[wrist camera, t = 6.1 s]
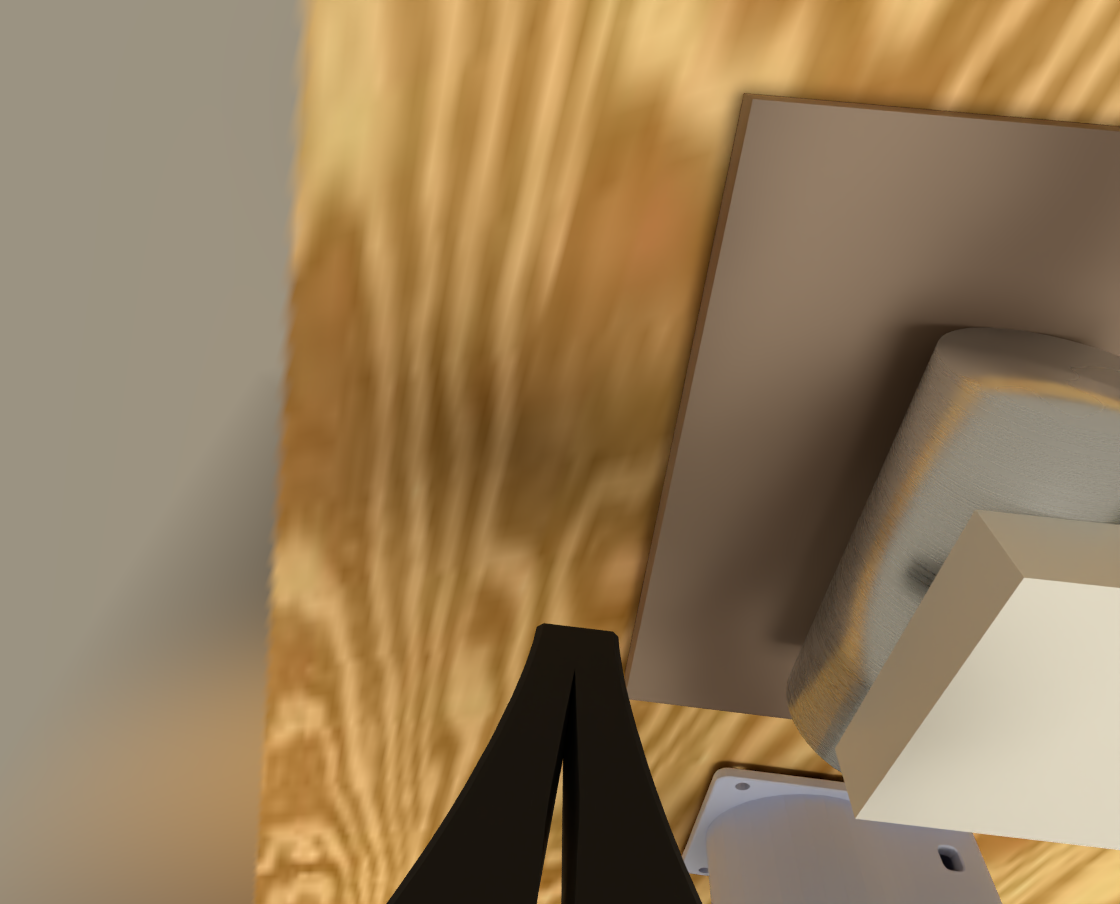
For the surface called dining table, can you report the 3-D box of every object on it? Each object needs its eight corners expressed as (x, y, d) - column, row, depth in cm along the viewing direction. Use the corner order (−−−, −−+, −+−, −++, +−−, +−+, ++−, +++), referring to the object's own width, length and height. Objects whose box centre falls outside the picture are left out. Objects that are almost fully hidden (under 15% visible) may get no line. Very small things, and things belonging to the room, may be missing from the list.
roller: (968, 311, 13) (1213, 381, 11) (822, 628, 19) (966, 713, 17) (907, 368, 11) (1210, 474, 9) (759, 715, 16) (919, 828, 14)
